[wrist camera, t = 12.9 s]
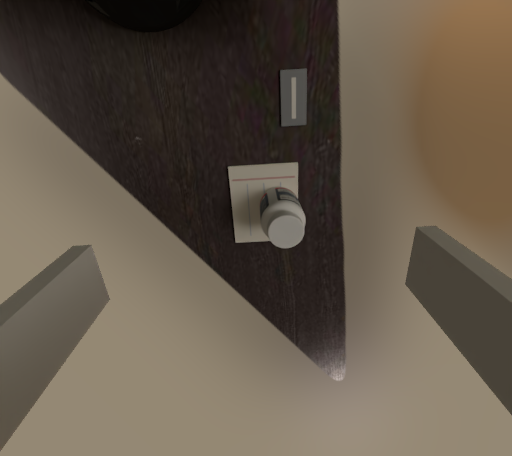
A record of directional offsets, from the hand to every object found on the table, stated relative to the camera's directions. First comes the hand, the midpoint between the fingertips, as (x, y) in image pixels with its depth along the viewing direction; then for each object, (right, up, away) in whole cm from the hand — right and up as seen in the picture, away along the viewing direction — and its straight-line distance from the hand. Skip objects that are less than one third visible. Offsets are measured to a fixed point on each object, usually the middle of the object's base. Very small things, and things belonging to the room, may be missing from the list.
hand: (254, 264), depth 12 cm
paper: (+1, +5, +27) cm, 28 cm away
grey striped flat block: (+5, +17, +22) cm, 28 cm away
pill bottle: (+3, +5, +27) cm, 28 cm away
